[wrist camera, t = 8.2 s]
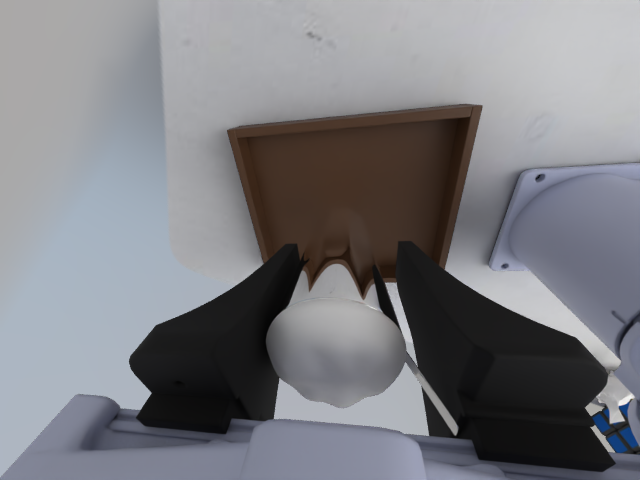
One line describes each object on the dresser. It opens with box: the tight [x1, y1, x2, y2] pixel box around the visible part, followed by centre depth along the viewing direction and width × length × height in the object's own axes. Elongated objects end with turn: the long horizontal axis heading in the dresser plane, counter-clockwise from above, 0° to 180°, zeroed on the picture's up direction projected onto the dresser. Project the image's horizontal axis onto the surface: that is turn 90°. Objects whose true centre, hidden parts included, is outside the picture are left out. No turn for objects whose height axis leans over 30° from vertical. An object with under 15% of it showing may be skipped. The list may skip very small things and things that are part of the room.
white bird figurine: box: [595, 370, 635, 424], centre depth 23 cm, size 8×5×5 cm, turn 10°
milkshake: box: [266, 208, 460, 436], centre depth 10 cm, size 4×5×10 cm
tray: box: [227, 104, 482, 282], centre depth 17 cm, size 14×12×2 cm
